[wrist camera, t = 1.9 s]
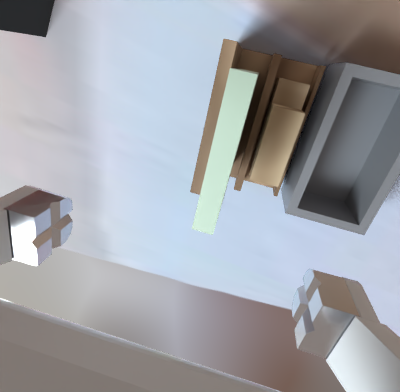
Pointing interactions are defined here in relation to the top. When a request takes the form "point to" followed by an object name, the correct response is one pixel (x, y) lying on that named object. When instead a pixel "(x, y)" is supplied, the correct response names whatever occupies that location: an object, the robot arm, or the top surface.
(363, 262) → the top surface
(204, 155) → the rack
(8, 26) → the cleaning product box
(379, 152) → the bin
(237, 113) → the sheet
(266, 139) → the offcut upper
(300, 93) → the offcut lower
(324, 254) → the top surface
